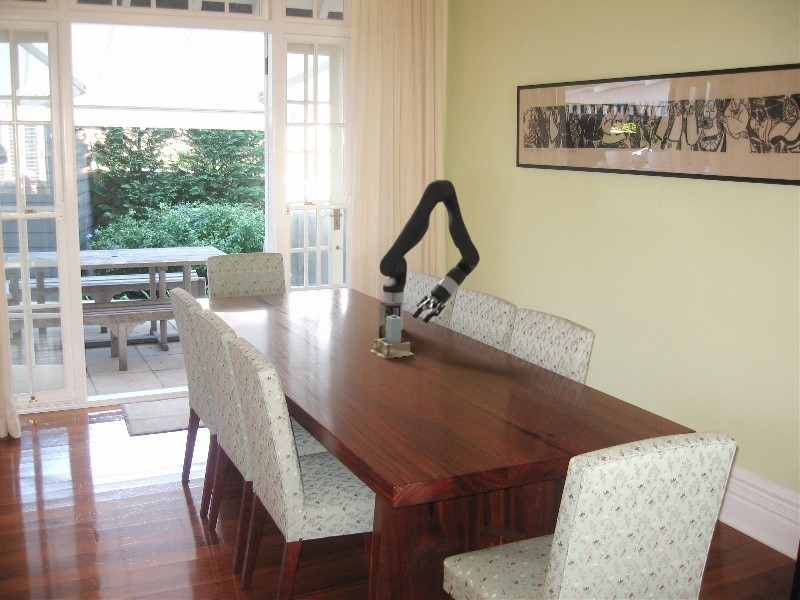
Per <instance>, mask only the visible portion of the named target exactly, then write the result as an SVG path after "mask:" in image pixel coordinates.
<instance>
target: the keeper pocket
mask: <svg viewBox="0 0 800 600" xmlns="http://www.w3.org/2000/svg"><path fill="white" fill-rule="evenodd" d="M372 340H373V344H372V345H373V347H372V349H369V353H371V352H372V354H373V353H374V354H373V355H374V356H377V357H379V358H381V359H383V360H386V359H387V358H389V359H395V358H394V357H398V358H403V357H402V356H407V357H410V356H409V355H413V356H414V353H413V352H411V342H409V341H407V342H401V343H395V344H387V343H386V338H382V339H379V338H373V339H372Z"/></svg>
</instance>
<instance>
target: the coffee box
mask: <svg viewBox="0 0 800 600" xmlns="http://www.w3.org/2000/svg"><path fill="white" fill-rule="evenodd" d="M378 309H379V310H378V316H379V317H378V321H379V322H378V339H382V338H386V316H391V315H397V316H398V317H401V318H402V303H397V302H383V301H380V303H379V307H378Z"/></svg>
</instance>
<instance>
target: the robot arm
mask: <svg viewBox="0 0 800 600" xmlns="http://www.w3.org/2000/svg"><path fill="white" fill-rule="evenodd" d="M439 203H443V205H444V207H445V208H446V211H447V215H448V230H449V235H450V236H451V240H452V242H453V245H454V246H455V247H456V248H457V249H458V250H459V253H460V255H461V257H460V259H459V260H458V262H457V263H456V264H455V265H454V266H453V267H452V268H451V269H450V270H448V272H447V273H446V274H445V275H444V276H443V278H442V279H440V280H439V282H438V283H437V284H436V285H435V286H434V287H433V288H432V290H431V291H430V296H428V295H424V296H423V297H422V298H421V299H420V300H419V302H417V304H416V305H415V306H416V308H417V309H416V310H415V311H414V312H413V313H412V317H413V318H414V319H418V318H419V316H420V315H421V314H422V313H423V312H424V311H428V310H429V311H428V312H427V313H426V315H425V316H424V317H423V319H422V321H423V322H424V323H425V324H427V323H429V322H430V320H431V319H432V318H434V317H438V316H439V315H440V314H441V313H442V311H443V310H444V309H445V308H446V303H447V302H448V301H449V300H450V298H451V297H452V296H454V294H455V292H456V291H457V290H458V289H459V287H460V286H461V285H462V283H464V281H465V280H466V278H467V277H468V276H469V275H470V274H471V273H472V272H473V271H475V269H476V268H477V266H478V264H479V263H480V259H481V258H480V257H481V256H480V254H479V251H478V249H477V247H476V245H475V244H474V242H473V241H472V239H471V236H470V233H469V231H468V229H467V227H466V224H465V222H464V219H463V216H462V212H461V208H460V204H459V200H458V196H457V192H456V187H455V185H454V184H453V183H452V181H451V180H447V179H435V180H432V181H430V182H429V183H428V184H427V185H426V187H425V190H424V191H423V193H422V196H421V198H420V199H419V201H418V204H417V206H416V207H415V209H414V210H413V213H412V214H411V215H410V217H409V218H408V220H407V221H406V223H405V224H404V227H402V230H401V231H400V233H399V234H398V236H397V238H396V239H395V241H394V242H393V244H392V245H391V247H390V248H389V249H388V250H387V252H386V253H385V254H384V255H383V257H382V258H381V260H380V262H379V271H380V274H381V275H382V276H384V277H386V278H387V277H389V278H388V280H387V281H386V282H385V283H384V284H383V285H382V302H397V303H402V323H401V331H402V330H403V329H404V327H403V325H404V324H403V322H404V300H405V299H404V297H405V295H404V294H405V287H406V283H407V276H408V275H407V273H408V266H407V265H408V264H407V263H408V262H407V260H406V258H405V256H406V254H408V253H409V252H410V251H411V250H412V249H413V248H415V247H416V246H417V245H418V244H419V243H420V242H422V239H424V236H425V235H426V234H427V231H428V230H429V227H430V220H431V219H430V217H431V214H432V212H433V211H434V209H435V207H436V206H437V205H438V204H439Z"/></svg>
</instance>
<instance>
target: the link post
mask: <svg viewBox="0 0 800 600" xmlns="http://www.w3.org/2000/svg"><path fill="white" fill-rule="evenodd" d="M401 323H402V318H401V317H398V316H397V315H391V316H386V343H387V344H395V343H402V330H401Z"/></svg>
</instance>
